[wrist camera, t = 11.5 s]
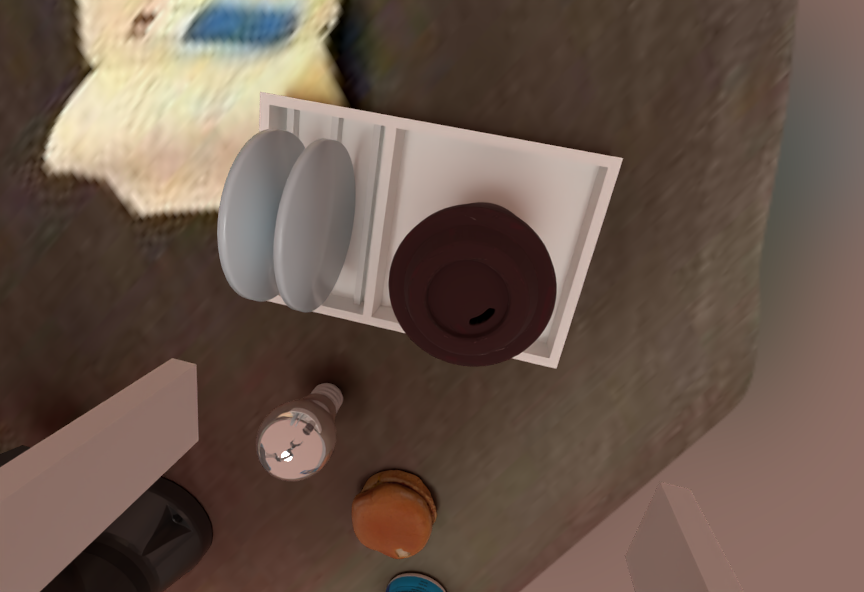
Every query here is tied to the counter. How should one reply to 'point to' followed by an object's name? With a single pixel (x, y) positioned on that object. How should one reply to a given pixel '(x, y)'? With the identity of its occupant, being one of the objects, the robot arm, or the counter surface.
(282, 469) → the light bulb
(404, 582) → the beverage bottle
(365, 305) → the white tray
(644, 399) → the counter surface
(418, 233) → the coffee cup
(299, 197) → the plates
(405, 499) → the burger
